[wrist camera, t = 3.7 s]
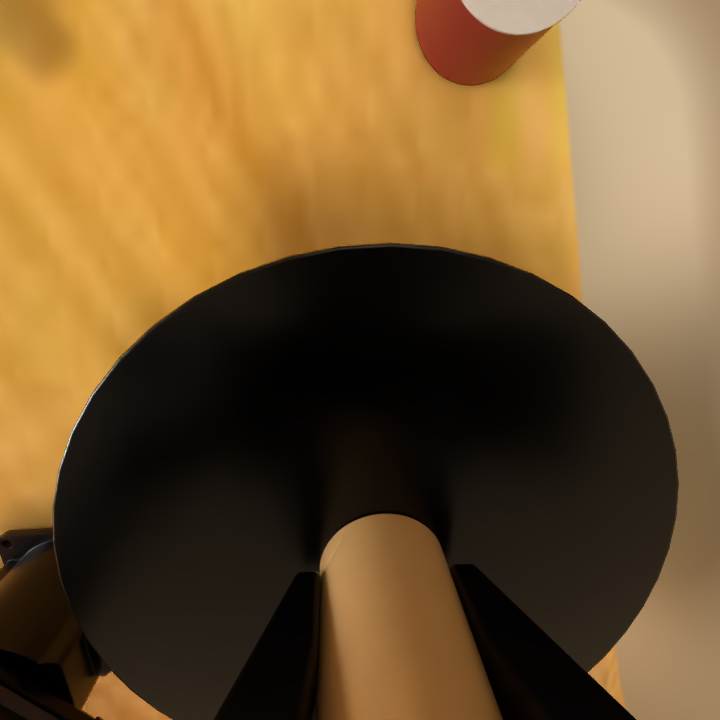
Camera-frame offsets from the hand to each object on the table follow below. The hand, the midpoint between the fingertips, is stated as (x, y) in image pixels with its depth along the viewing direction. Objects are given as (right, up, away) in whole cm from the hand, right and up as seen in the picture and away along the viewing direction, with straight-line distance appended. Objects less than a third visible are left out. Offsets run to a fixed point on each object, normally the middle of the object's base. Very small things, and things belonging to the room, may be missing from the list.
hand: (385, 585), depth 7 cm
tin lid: (0, 0, +1) cm, 1 cm away
